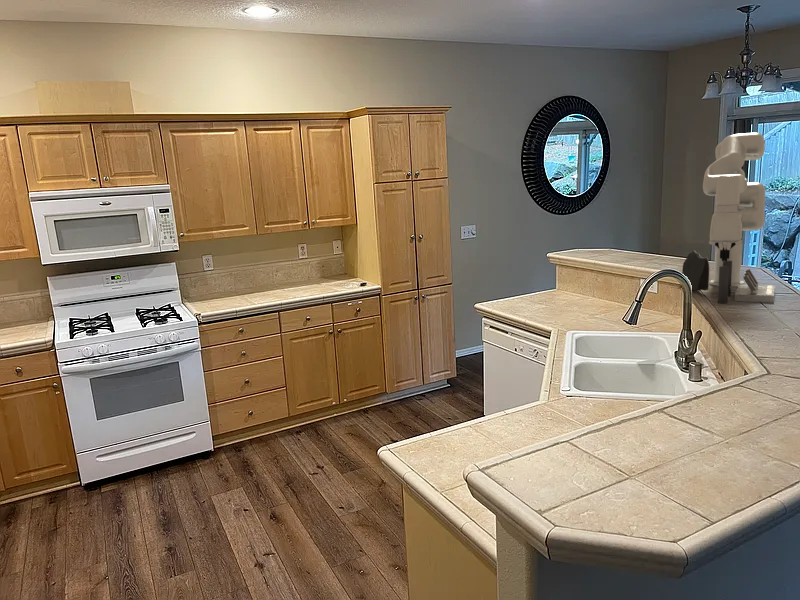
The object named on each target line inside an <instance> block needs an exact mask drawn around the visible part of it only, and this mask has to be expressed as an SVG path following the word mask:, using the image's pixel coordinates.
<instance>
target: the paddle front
mask: <svg viewBox="0 0 800 600" xmlns="http://www.w3.org/2000/svg"><path fill="white" fill-rule="evenodd" d="M742 278H743V280H744V282H745V283H746V285H748V287H749V288H750V290H751V292H753V294H756V292H757V290H756V288H755V286H754V285H753V283H752V281H751V280H750V278H749V276H748V275H746V276H745V275H743V277H742Z"/></svg>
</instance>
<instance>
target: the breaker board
mask: <svg viewBox="0 0 800 600" xmlns="http://www.w3.org/2000/svg"><path fill="white" fill-rule="evenodd" d="M775 291H776V285H764V284H761V285H760V284H758V288H757V292H756V294H753V292H751V290H750V288H749V287H748V285H747V284H744V285H738V286H737V287H736V290H735V293H734V302H747V303H748V302H751V303H768V304H773V303H775V302H774V301H775Z"/></svg>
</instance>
